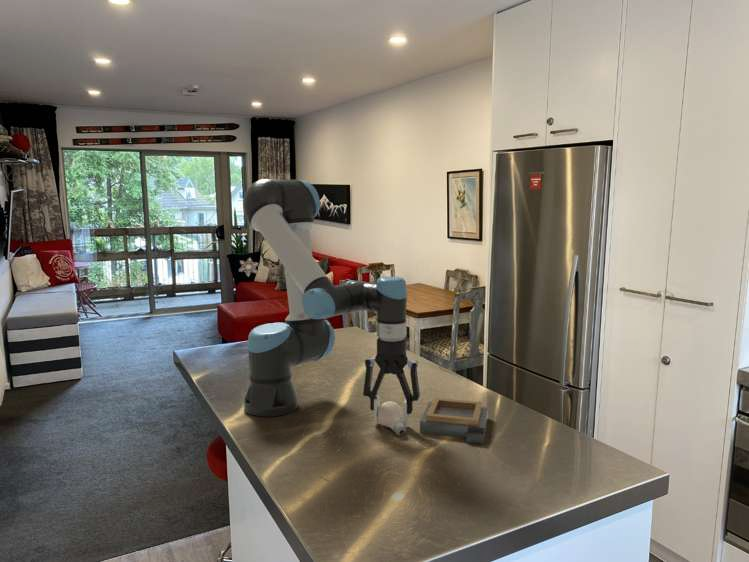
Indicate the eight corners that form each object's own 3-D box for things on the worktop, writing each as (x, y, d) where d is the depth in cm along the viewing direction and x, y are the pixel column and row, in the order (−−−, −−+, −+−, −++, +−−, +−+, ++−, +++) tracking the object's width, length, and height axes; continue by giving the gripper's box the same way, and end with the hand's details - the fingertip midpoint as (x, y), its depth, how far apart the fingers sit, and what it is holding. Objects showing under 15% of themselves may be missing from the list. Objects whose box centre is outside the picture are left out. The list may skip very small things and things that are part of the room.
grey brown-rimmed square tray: (417, 437, 137) (417, 419, 137) (431, 407, 158) (431, 391, 157) (482, 444, 133) (483, 426, 133) (488, 412, 153) (489, 397, 153)
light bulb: (413, 418, 137) (395, 393, 146) (389, 426, 135) (372, 400, 144) (414, 438, 140) (397, 412, 149) (390, 447, 138) (374, 420, 147)
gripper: (349, 338, 140) (350, 425, 143) (427, 344, 135) (426, 433, 138) (358, 332, 147) (358, 414, 150) (432, 336, 142) (431, 422, 145)
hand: (391, 423), depth 144 cm, fingers closed on light bulb, 7 cm apart
